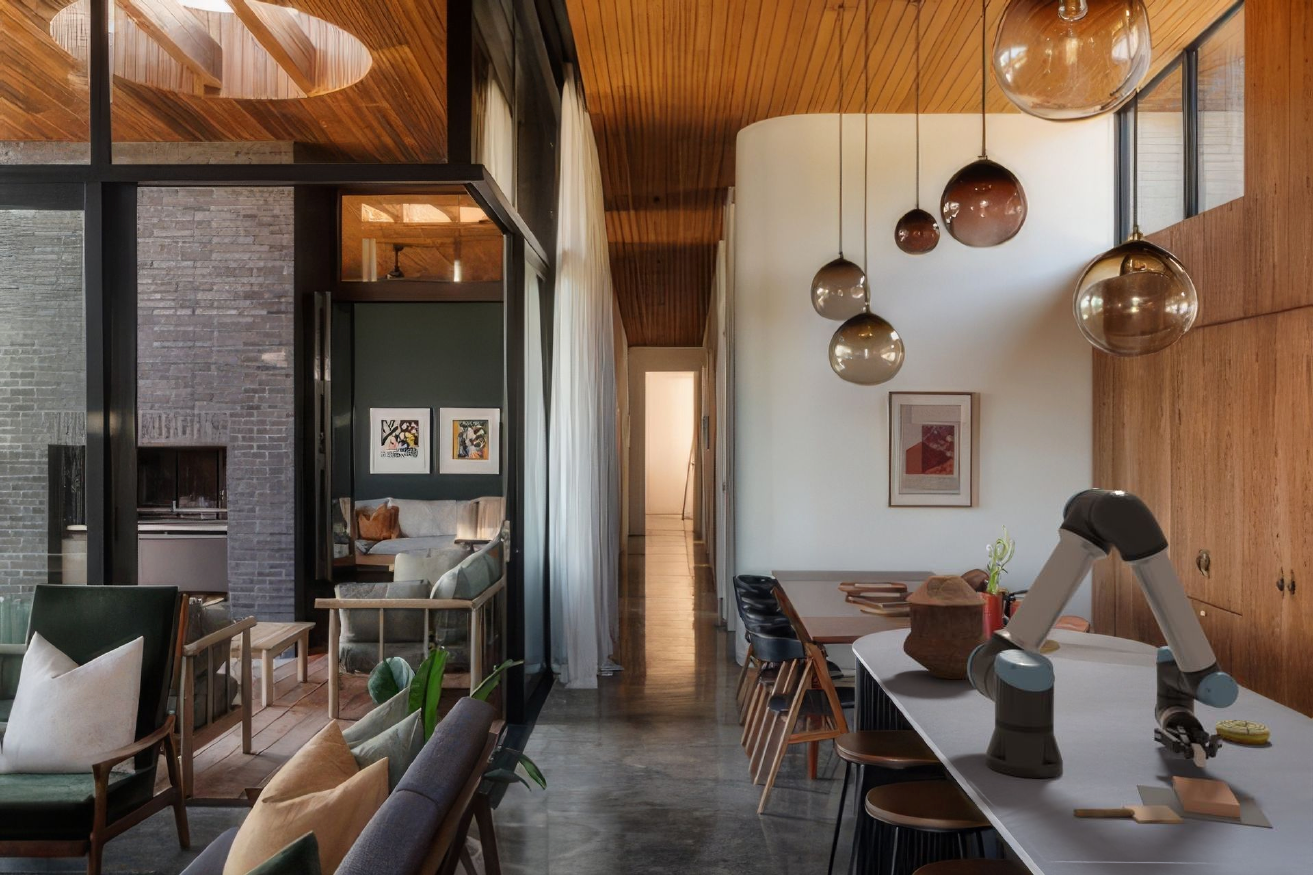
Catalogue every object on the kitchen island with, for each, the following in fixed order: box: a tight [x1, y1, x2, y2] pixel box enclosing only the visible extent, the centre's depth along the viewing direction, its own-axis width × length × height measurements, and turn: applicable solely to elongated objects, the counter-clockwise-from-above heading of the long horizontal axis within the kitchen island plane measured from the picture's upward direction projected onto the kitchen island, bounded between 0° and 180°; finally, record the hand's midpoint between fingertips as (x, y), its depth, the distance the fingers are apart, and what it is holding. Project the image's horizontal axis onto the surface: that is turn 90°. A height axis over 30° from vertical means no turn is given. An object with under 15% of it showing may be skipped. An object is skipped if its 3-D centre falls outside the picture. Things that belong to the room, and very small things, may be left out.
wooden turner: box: [1073, 805, 1184, 824], centre depth 180 cm, size 18×6×1 cm, turn 90°
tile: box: [1172, 776, 1240, 818], centre depth 187 cm, size 9×2×14 cm
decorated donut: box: [1214, 719, 1271, 745], centre depth 231 cm, size 10×11×4 cm
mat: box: [1136, 784, 1274, 829], centre depth 185 cm, size 20×16×1 cm
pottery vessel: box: [902, 574, 990, 680], centre depth 295 cm, size 26×26×30 cm
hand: (1201, 759), depth 191 cm, fingers closed
